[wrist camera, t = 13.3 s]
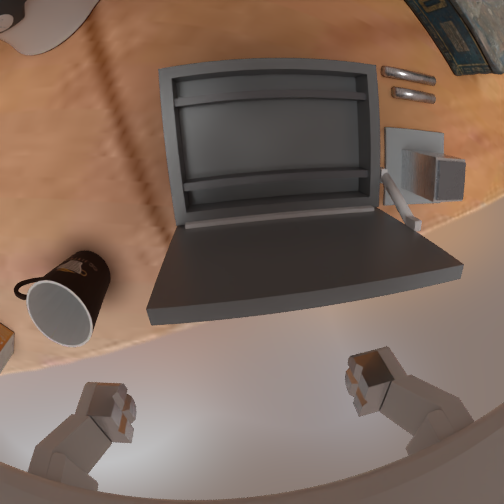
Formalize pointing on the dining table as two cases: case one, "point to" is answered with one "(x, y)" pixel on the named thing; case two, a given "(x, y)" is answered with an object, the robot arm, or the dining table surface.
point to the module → (433, 175)
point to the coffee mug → (68, 298)
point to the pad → (393, 156)
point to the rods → (410, 76)
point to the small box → (5, 345)
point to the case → (281, 193)
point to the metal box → (465, 32)
